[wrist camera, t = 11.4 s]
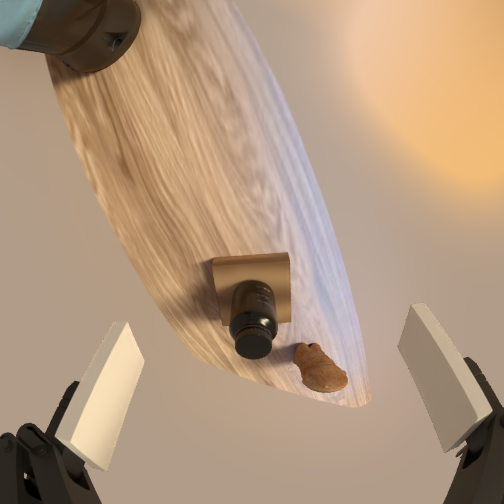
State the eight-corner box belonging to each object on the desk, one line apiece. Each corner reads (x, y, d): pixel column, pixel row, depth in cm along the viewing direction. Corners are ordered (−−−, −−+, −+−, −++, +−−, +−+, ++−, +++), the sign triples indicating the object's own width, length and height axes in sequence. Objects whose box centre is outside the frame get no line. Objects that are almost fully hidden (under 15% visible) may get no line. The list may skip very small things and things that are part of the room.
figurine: (291, 358, 55) (298, 416, 41) (296, 329, 52) (305, 390, 38) (330, 356, 55) (344, 412, 41) (337, 328, 52) (356, 386, 38)
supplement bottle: (256, 319, 47) (255, 371, 36) (224, 297, 45) (215, 348, 34) (283, 294, 45) (290, 345, 34) (251, 270, 43) (249, 318, 32)
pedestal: (214, 257, 45) (211, 266, 43) (287, 252, 45) (289, 260, 42) (224, 315, 50) (222, 326, 48) (289, 311, 50) (291, 322, 47)
